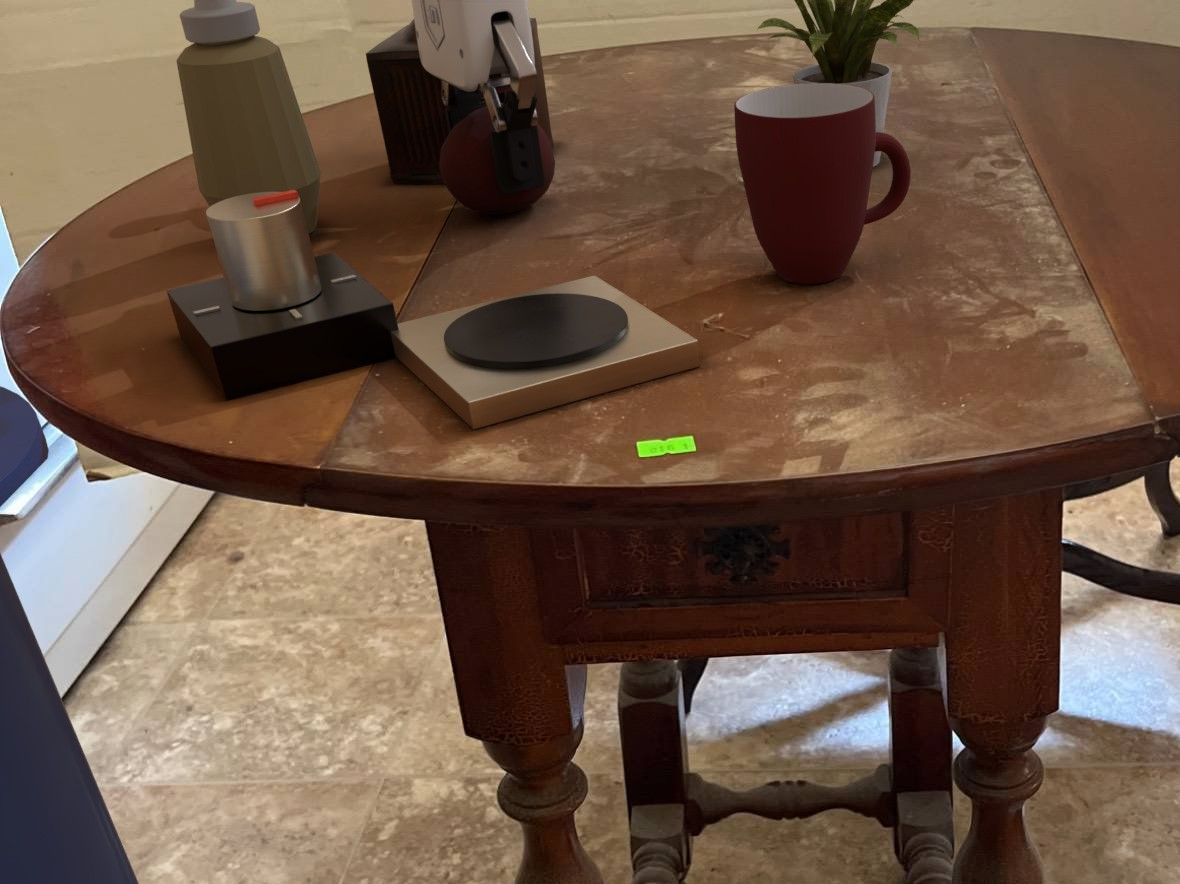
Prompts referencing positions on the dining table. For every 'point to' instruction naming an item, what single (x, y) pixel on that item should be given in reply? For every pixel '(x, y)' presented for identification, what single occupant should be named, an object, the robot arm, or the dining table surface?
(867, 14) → the house plant
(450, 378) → the hotplate
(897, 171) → the mug
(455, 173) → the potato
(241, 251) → the dial
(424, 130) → the grooved wooden box
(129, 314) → the dining table surface
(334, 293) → the control panel
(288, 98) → the squeeze bottle
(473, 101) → the robot arm
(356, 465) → the dining table surface
